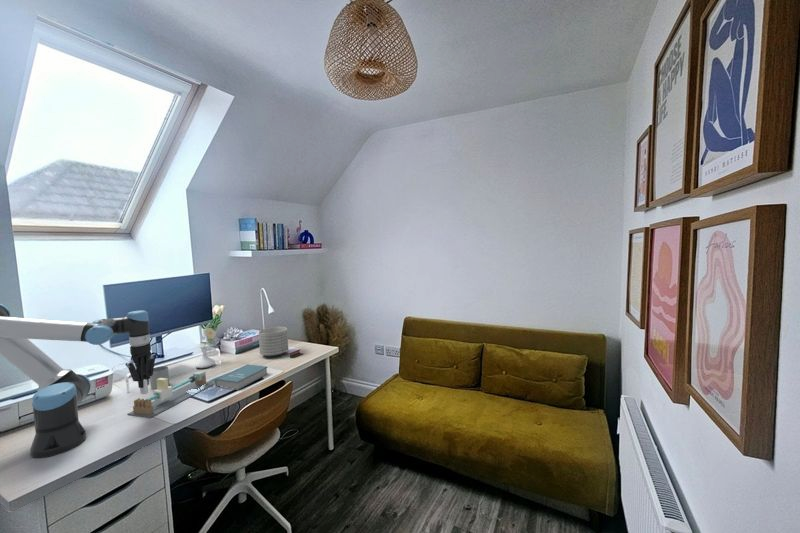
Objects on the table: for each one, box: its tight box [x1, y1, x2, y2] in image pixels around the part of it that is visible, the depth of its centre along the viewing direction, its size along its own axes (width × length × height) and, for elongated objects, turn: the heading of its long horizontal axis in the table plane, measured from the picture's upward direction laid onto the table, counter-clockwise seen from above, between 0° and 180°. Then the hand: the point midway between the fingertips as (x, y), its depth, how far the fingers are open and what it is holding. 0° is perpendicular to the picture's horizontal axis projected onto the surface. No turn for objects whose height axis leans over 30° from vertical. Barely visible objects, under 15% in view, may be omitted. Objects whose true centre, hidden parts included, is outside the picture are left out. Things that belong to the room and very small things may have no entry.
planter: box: [258, 326, 289, 358], centre depth 229 cm, size 19×19×18 cm
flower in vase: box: [195, 327, 217, 369], centre depth 210 cm, size 13×11×25 cm
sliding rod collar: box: [152, 378, 173, 401], centre depth 159 cm, size 6×5×10 cm
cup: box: [149, 365, 170, 390], centre depth 181 cm, size 8×8×10 cm
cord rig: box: [127, 370, 215, 419], centre depth 165 cm, size 36×14×7 cm, turn 166°
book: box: [214, 363, 268, 391], centre depth 187 cm, size 23×16×5 cm
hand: (144, 393), depth 151 cm, fingers closed
